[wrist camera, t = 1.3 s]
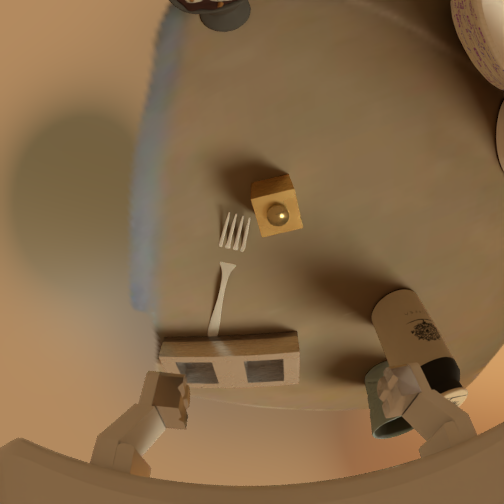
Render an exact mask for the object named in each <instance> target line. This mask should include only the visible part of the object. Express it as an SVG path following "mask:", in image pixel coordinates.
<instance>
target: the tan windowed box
mask: <svg viewBox="0 0 504 504" xmlns="http://www.w3.org/2000/svg"><path fill="white" fill-rule="evenodd" d="M158 357H159V359H160V361H161V363H162V365H163V367H164V369H165V371H166V373H174V374H185V375H186V377H187V385H189V388H240V387H263V386H279V385H291V384H299V365H300V350H299V342H298V335H297V331H293V332H281V333H268V334H253V335H234V336H208V337H164V339H163V343H162V346H161V349H160V353H159V356H158Z"/></svg>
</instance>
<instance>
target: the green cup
mask: <svg viewBox="0 0 504 504" xmlns="http://www.w3.org/2000/svg"><path fill="white" fill-rule="evenodd" d="M387 367H390V366H389V364H388V361H384V362H382V363H380V364H378V365H376V366H375V367H373V368H372V369H371V370H370V371H369V372H368V373H367V374H366V376H365V385H366V390H367V394H368V403H369V409H370V418H371V427H372V435H373V437H375V438H378V439H385V438H391V437H395V436H398V435H401V434H404V433H406V432H408V431H410V430H412V429H414V428H413V427H412V426H411V425H410V424H409V423H408V422H407V421H406V420H405V419H404V418H403V417H402V416H397V417H392V418H385V415H384V412H383V409H382V404H383V401H382V400H380V399H379V397H378V394H377V383H378V381H379V379H380V378H381V377H382V376H384V373H383V372H384V370H385V368H387Z"/></svg>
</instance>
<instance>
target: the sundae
mask: <svg viewBox="0 0 504 504" xmlns="http://www.w3.org/2000/svg"><path fill="white" fill-rule="evenodd" d="M169 1H170V2H171V3H172V4H173V5H174V6H175V7H177V8H179V9H180V10H182V11H185V12H187V13H192V14H200V17H201V20H202V22H203V23H204V24H205V25H206V26H207V27H208V28H210V29H213V30H215V31H231V30H234V29H237V28H239V27H240V26H242V25H243V24H244V23H245V22H246V21H247V19H248V18H249V15H250V5H249V2H248V0H169Z"/></svg>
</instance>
